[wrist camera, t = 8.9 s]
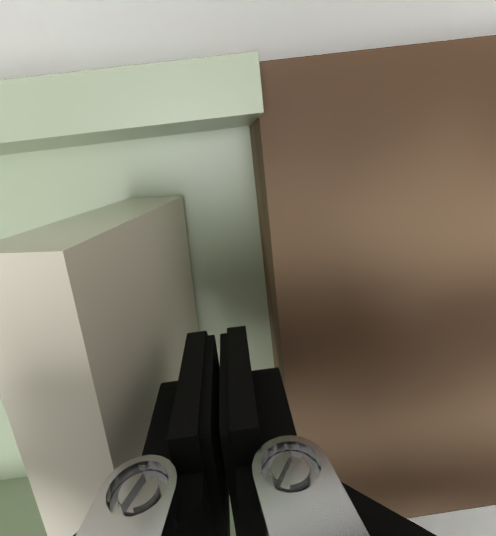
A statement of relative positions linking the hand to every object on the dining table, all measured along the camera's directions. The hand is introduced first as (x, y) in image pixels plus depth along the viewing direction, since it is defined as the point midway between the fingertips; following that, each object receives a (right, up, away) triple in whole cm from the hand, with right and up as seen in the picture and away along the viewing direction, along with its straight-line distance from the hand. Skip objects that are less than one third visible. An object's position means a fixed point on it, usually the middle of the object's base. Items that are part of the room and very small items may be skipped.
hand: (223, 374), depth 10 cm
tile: (-2, +1, 0) cm, 2 cm away
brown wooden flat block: (+10, +3, +5) cm, 12 cm away
